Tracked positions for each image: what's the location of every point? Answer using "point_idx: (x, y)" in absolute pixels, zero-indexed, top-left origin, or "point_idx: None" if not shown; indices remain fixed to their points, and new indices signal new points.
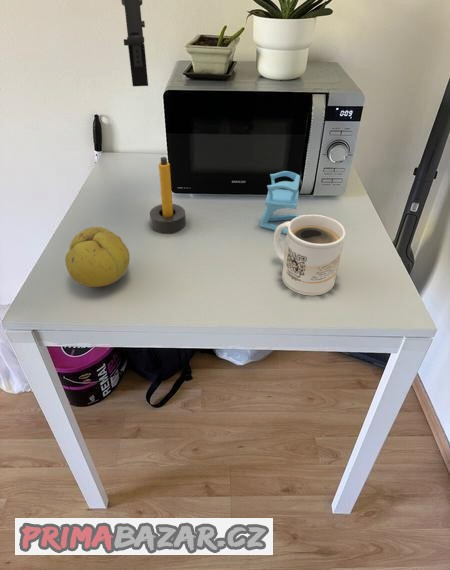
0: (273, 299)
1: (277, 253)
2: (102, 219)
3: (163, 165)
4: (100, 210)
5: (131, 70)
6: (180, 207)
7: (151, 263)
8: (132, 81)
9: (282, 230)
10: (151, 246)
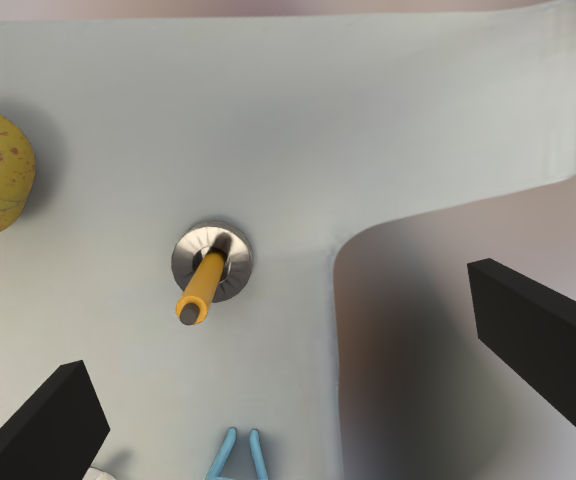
0: None
1: (101, 475)
2: (217, 105)
3: (181, 310)
4: (256, 88)
5: (15, 418)
6: (236, 289)
7: (72, 250)
8: (48, 380)
9: (211, 469)
10: (128, 238)
